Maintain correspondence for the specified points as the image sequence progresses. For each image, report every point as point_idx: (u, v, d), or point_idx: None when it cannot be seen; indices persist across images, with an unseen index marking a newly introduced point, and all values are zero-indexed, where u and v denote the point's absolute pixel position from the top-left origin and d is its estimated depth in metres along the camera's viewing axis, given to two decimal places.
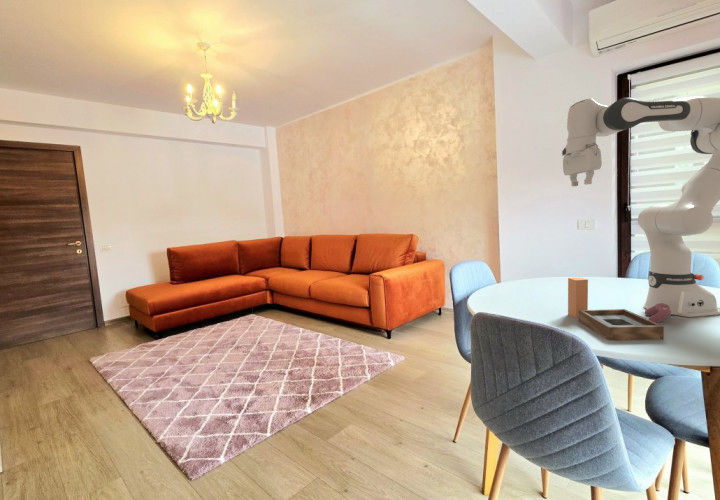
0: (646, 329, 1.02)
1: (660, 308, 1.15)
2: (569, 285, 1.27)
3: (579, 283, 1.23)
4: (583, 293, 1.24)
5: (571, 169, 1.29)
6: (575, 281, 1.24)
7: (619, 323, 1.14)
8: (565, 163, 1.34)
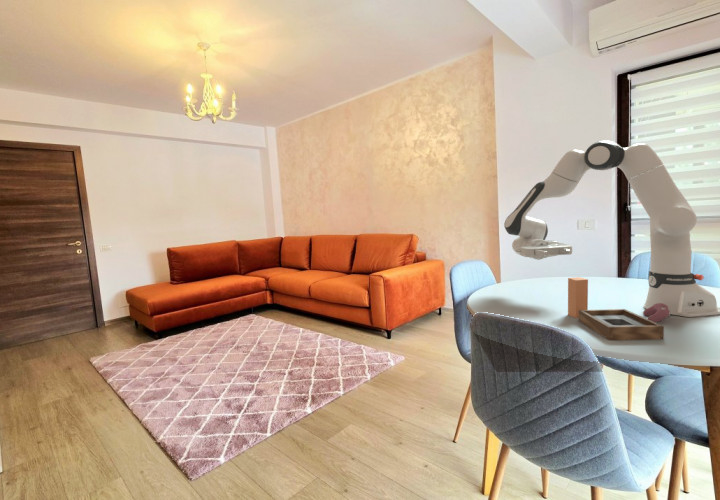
0: (646, 329, 1.02)
1: (659, 308, 1.15)
2: (569, 285, 1.27)
3: (579, 283, 1.23)
4: (583, 293, 1.24)
5: (555, 254, 1.43)
6: (575, 281, 1.24)
7: (619, 323, 1.14)
8: None
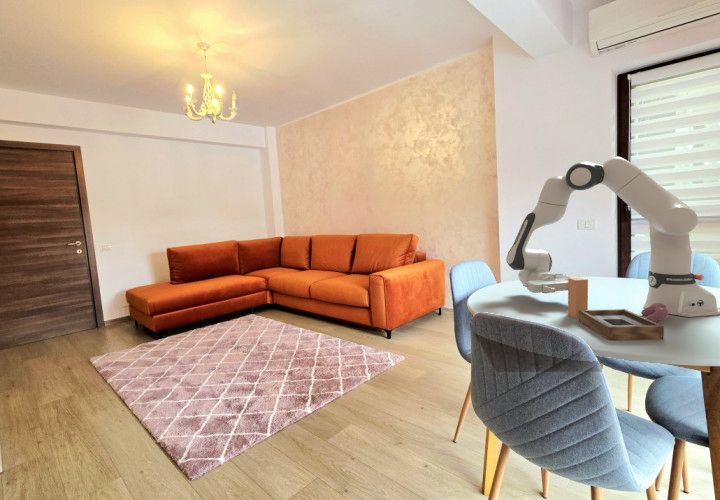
0: (646, 329, 1.02)
1: (657, 308, 1.16)
2: (569, 285, 1.27)
3: (579, 283, 1.23)
4: (583, 293, 1.24)
5: None
6: (575, 281, 1.24)
7: (619, 323, 1.14)
8: None
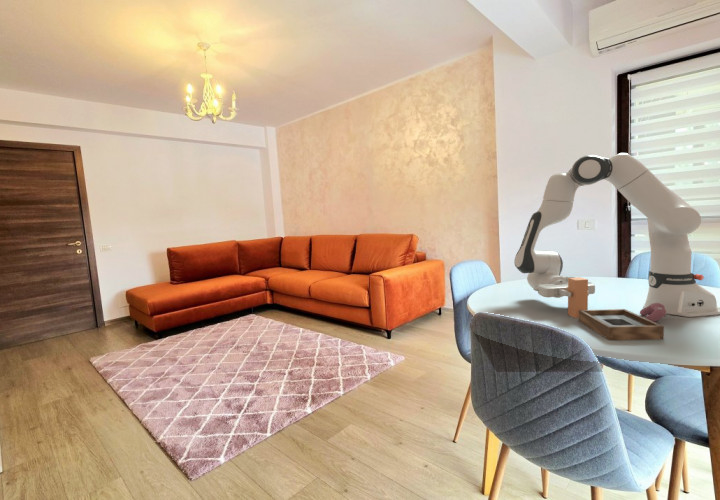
0: (646, 329, 1.02)
1: (655, 308, 1.16)
2: (569, 285, 1.27)
3: (579, 283, 1.23)
4: (583, 293, 1.24)
5: None
6: (575, 281, 1.24)
7: (619, 323, 1.14)
8: None
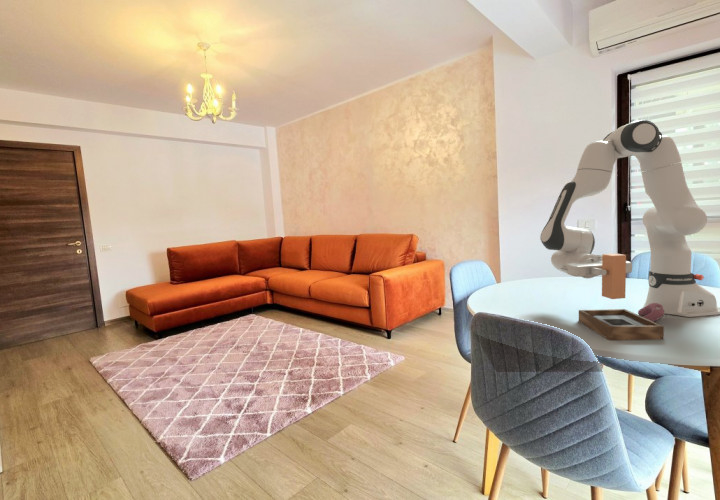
0: (646, 329, 1.02)
1: (653, 308, 1.16)
2: (604, 262, 1.12)
3: (616, 259, 1.09)
4: (620, 270, 1.09)
5: None
6: (611, 257, 1.09)
7: (619, 323, 1.14)
8: None
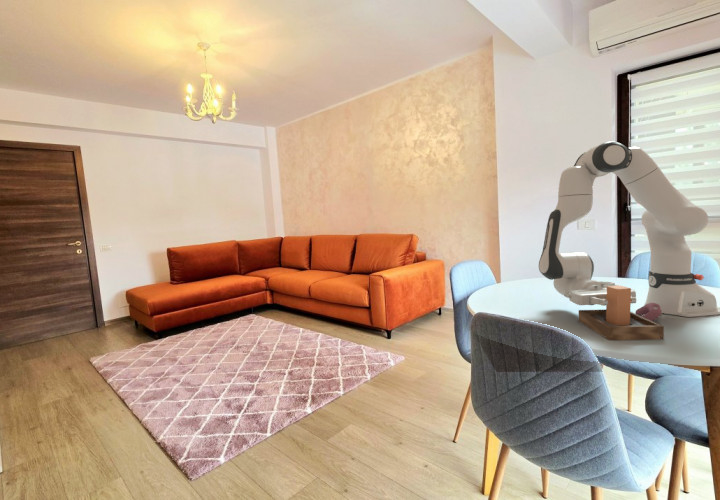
0: (646, 329, 1.02)
1: (651, 308, 1.16)
2: (608, 294, 1.12)
3: (620, 292, 1.08)
4: (625, 304, 1.09)
5: None
6: (616, 290, 1.08)
7: None
8: None
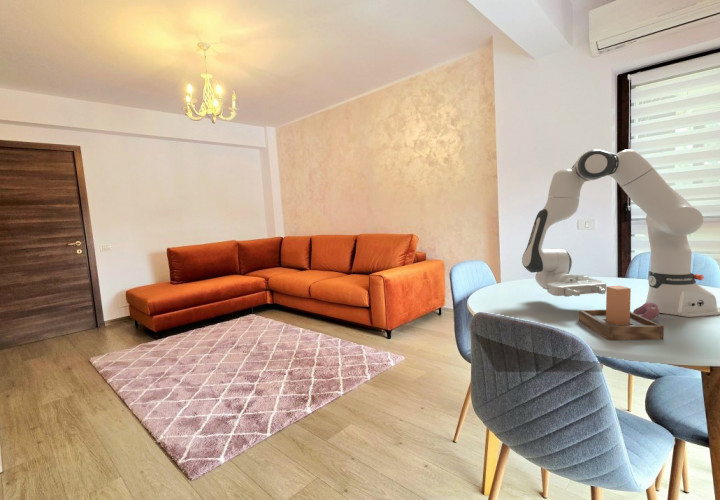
0: (646, 329, 1.02)
1: (648, 307, 1.17)
2: (608, 294, 1.12)
3: (620, 292, 1.08)
4: (625, 304, 1.09)
5: None
6: (616, 290, 1.08)
7: None
8: None
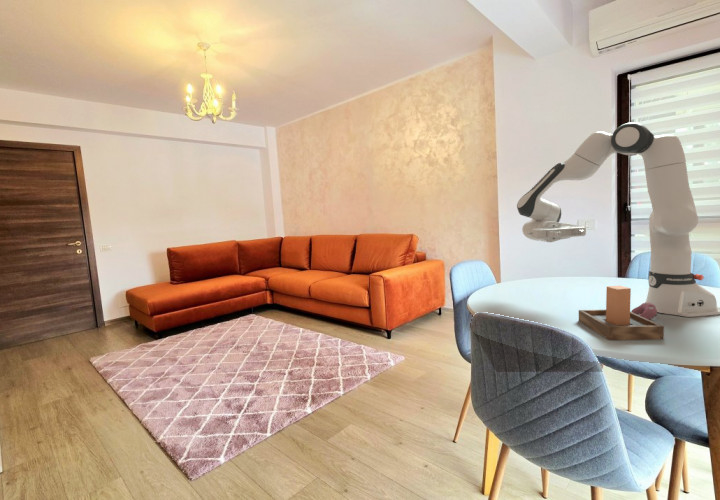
0: (646, 329, 1.02)
1: (646, 307, 1.17)
2: (608, 294, 1.12)
3: (620, 292, 1.08)
4: (625, 304, 1.09)
5: None
6: (616, 290, 1.08)
7: None
8: (574, 235, 1.41)
